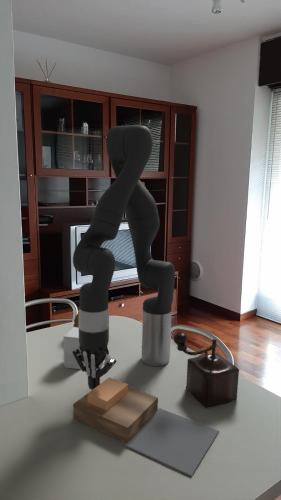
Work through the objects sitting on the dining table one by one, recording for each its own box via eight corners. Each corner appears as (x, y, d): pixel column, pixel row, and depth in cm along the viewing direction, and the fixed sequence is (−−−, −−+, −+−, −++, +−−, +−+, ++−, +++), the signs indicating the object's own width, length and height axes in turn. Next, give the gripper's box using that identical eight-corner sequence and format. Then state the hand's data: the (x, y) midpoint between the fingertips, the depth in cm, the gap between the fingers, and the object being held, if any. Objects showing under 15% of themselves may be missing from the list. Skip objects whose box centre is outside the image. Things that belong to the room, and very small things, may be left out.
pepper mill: (213, 380, 111) (217, 323, 107) (238, 400, 101) (242, 338, 97) (168, 391, 104) (170, 331, 101) (189, 414, 94) (192, 348, 91)
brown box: (107, 392, 103) (107, 378, 102) (157, 411, 95) (158, 397, 94) (73, 418, 91) (73, 404, 91) (127, 443, 83) (127, 427, 83)
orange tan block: (109, 385, 99) (109, 377, 99) (127, 392, 96) (128, 384, 96) (87, 402, 92) (87, 393, 91) (107, 410, 89) (107, 401, 88)
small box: (80, 370, 115) (80, 338, 113) (63, 368, 116) (63, 336, 114) (89, 358, 122) (89, 328, 120) (73, 356, 124) (72, 326, 122)
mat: (159, 409, 96) (159, 408, 96) (218, 432, 88) (218, 430, 88) (125, 446, 83) (125, 444, 82) (191, 477, 74) (191, 475, 74)
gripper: (124, 326, 92) (123, 389, 96) (83, 315, 99) (83, 374, 102) (105, 336, 86) (105, 404, 89) (63, 323, 93) (64, 387, 96)
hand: (93, 388), depth 96 cm, fingers closed
